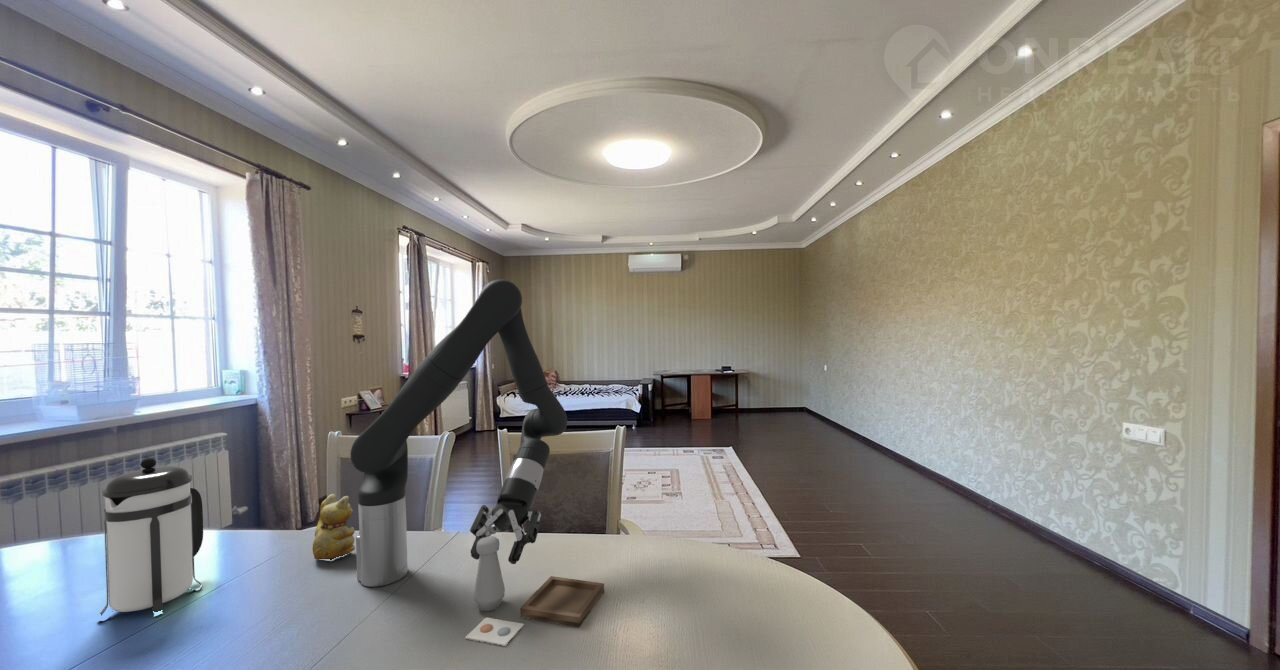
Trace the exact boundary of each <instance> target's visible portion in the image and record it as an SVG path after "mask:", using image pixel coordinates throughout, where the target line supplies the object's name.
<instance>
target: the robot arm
mask: <svg viewBox="0 0 1280 670" xmlns="http://www.w3.org/2000/svg"><path fill="white" fill-rule="evenodd" d="M522 303H523V297H522V293H521V290H520V289H519V287H518V286H517V285H516V284H515V283H513V282H511V281H509V280H507V279H503V278H502V279H501V278H499V279H494V280H491V281H489V282H488V283H486V284H485V285H484V286H483V288H482V289H481V290H480V293H479V295H478V296H477V298H476V300H475V301H474V303H473V305H472V306H471V307H470V309H469V311H468V312H467V313H466V315H465V316H464V318H463V319H461V321H460V322H459V324H457V325H456V327H454V329H453V330H451V331H450V332H448V334H447V335H446V336H444V338H442V339H441V340H440V341H439V342H438V343H437V344H436V345H435V346H434V347H433V349H432V350H430V351H429V353H428V354H427V355H426V357H424V358H423V360H422V361H421V362H420V364H419V365H418V366H417V367H416V369H415V370H414V371H413V372H412V373H411V375H410V377H409V378H408V379H407V380H406V381H405V383H404V384H403V386H402V387H401V389H400V390H399V391H398V392H397V394H396V395H395V397H394V398H393V399H392V401H391V403H390V404H389V405H388V406H387V407H386V409H384V410H383V412H381V414H380V415H379V416H378V417H377V418H376V419H375V420H374V421H373V422H372V423H371V424H370V425H369V426H368V427H367V428H366V429H365V430H364V431H362V432H361V433H360V434H359V435H358V437H356V438H355V440H354V441H353V443H352V445H351V449H350V460H351V464H352V465H353V467H354V468H355V470H357V471H358V472H361V473H363V477H362V482H361V484H360V487H359V488H358V491H357V492H358V493H357V503H358V504H357V505H358V506H357V507H358V533H359V534H358V535H357V536H356V537H355V550H356V551H355V552H356V580H357V581H360V583H361V585H362V586H363V587H364V586H365V587H371V588H373V587H380V586H386V585H390V584H393V583H394V582H397V581H399V580H401V579H402V578H403V577H405V576H406V575H407V574H408V570H409V569H408V568H409V566H408V543H407V542H408V538H407V535H408V534H407V533H408V532H407V507H406V505H407V503H406V502H407V501H406V486H407V481H408V478H409V477H408V473H409V471H408V470H409V469H408V468H409V467H408V466H409V465H408V464H409V461H408V460H409V457H408V456H409V455H408V450H409V448H408V438H409V437H410V435H411V434H412V433H413V432H414V430H415V429H416V428H417V427H418V426H419V425H420V424H421V423H422V422H423V421H424V420H425V419H426V418H427V417H428V416H429V415H431V414H432V413H433V412H434V411H435V410H436V409H437V408H439V406H441V405H442V404H443V402H445V401H446V400H447V398H448V397H450V395H451V394H452V393H453V392H454V391H455V390H456V388H457V387H458V386H459V385H460V384H461V382H462V381H463V380H464V378H465V377H466V375H468V373H469V372H470V370H471V369H472V367H473V366H474V365H475V363H476V362H477V360H478V358H479V356H480V355H481V354H482V352H483V351H484V349H485V348H486V346H487V345H488V344H489V343H490V341H491V340H492V339H493V338H494V337H495V336H496V335H497V334H499V337H500V339H501V342H502V345H503V348H504V351H505V354H506V358H507V361H508V366H509V368H510V372H511V374H512V377H513V378H512V379H513V381H514V385H515V386H516V389H517V391H518V394H519V396H520V398H521V401H522V402H524V403H525V404H529V405H533V406H536V407H537V408H534V409H531V410H529V411H528V412H527V414H526V415H525V416H524V419H523V420H522V427H521V437H520V445H519V449H518V450H517V452H516V454H515V458H514V461H513V463H512V464H511V466H510V467H509V469H508V472H507V474H506V476H505V479H504V481H503V484H502V486H501V489H500V491H499V494H498V496H497V502H496V505H495V506H494V507H488V506H487V505H485V504H483V505H481V506H480V507H479V511H478V513H477V515H476V517H475V519H474V521H473V523H472V525H471V527H470V529H469V531H470V533H471V534H472V535H473V536H475V540H474V541H473V543H472V547H471V548H470V557H471V558H473V559H474V560H479V557H480V554H478V553H477V549H476V547H477V542H478V541H479V540H480V539H482V538H484V537H489V536H493V535H495V534H496V533H498V531H499V532H508V533H514V534H515V539H516V540H515V541H514V542H513V545H512V547H511V550H510V553H509V555H508V558H507V559H508V562H509V563H510V564H511V565H516V564H517V562H519V561H520V559H521V556H522V553H523V550H524V549H525V546H526V544H534V543H536V540H537V536H538V533H539V529H540V527H541V522H542V520H543V515H542V514H541V512H540V511H539V510H538V509H534V510H532V511H531V509H532V508H533V505H534V501H535V499H536V497H537V493H538V491H539V488H540V486H541V482H542V480H543V479H542V478H543V474H544V470H545V468H546V465H547V462H548V459H549V456H550V452H551V451H550V446H549V444H548V443H547V442H545V441H544V440H542V438H544V437H545V438H546V437H555V436H560V435H562V434H563V433H564V432H565V431H566V429H567V426H568V416H567V413H566V410H565V409H564V407H563V406H562V404H561V402H560V401H559V400H558V398H557V396H556V395H555V394H554V393H553V391H552V389H551V388H550V387H549V384H548V382H547V378H546V376H545V373H544V371H543V368H542V364H541V363H540V359H539V358H538V355H537V352H536V350H535V349H534V347H533V344H532V342H531V339H530V337H529V333H528V331H527V328H526V325H525V322H524V318H523V313H522V308H521V307H522ZM526 521H529V523H528V526H527V530H526V532H525V529H524V524H525V522H526ZM493 525H494V526H493Z"/></svg>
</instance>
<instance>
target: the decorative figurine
mask: <svg viewBox="0 0 1280 670" xmlns="http://www.w3.org/2000/svg"><path fill="white" fill-rule="evenodd" d="M349 502H350V497H349V495H345V496H342V498H340V499H339V500H337V496H336V494H335V493H330V494H329V495H328V496H327V497H326V498H325V499H324V500H322V502H321V504H320V508H319V509H320V511H319V514H320V515H319V520H318V521H317V525H316V527H315V531H314V539H313V542H312V554H313V557H314V558H313V559H315V560H316V561H320V560H319V559H330V560H332V559H334V558H336V557H339V556H343V555H345V554H348V553H350V554H351V552H353V551H355V550H356V545H354V544H355V541H356V538H355V537H354V534H355V531H356V529H355V528H354V527H353V526H349V525H348V524H347V522H348V521H349V520H350V519H351V517H352V516H353V508H352V507H351V504H350V503H349Z"/></svg>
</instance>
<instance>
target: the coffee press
mask: <svg viewBox="0 0 1280 670" xmlns="http://www.w3.org/2000/svg"><path fill="white" fill-rule="evenodd" d="M156 463H157V460H156V459H155V458H154V457H145V458H144V459H143V460H142V461H141V462H140V464H139V465H140V467H141V468H143V469H137V470H134V471H130V472H127V473H122V474H120V475H118V476H115V477H114V478H112V479H111V480H110V481H109V482H108V483H107V484H106V486H105V488H104V489H102V491H101V496H102V498H104V502H105V508H104V510H103V527H104V553H105V555H104V557H105V559H104V560H105V584H106V585H105V587H106V588H105V589H106V591H105V592H106V604H105V606H104V607H103V608H102V610H101V611H100V612H99V614H101V616H102V615H104V613H105V612H106V611H107V609H108V606H109V607H110V609H112V610H113V611H114V610H115V611H118V612H123V613H125V612H126V613H128V612H137V611H142V610H146V609H150V608H151V607H152V608H153V611H154V612H158V611H161V610H163V611H164V605H163V604H164V603H168V602H170V601H172V600H174V599H176V598H178V597H180V596H181V595H182V594H184V593H185V592H187V591H188V590H189V588H191V586H192V584H193V580H194V581H195V582H196V583H198V584H199V586H200V585H201V584H202V582H201V581H199V580H197V579H196V576H195V556H197V554H198V553H199V551H200V549H201V547H202V544H203V540H204V514H203V513H204V512H203V499H202V495H201V493H200V492H199V491H198V489H196V488H193V487H192V488H191V483H192V480H193V475H191V474H190V473H189V471H188V470H187V469H186V468H183V467H180V466H175V465H173V466H172V465H171V466H156V467H155V465H156ZM152 608H151V609H152Z"/></svg>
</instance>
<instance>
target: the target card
mask: <svg viewBox="0 0 1280 670" xmlns="http://www.w3.org/2000/svg"><path fill="white" fill-rule="evenodd" d="M523 625H524V626H525V624H524V623H521V622H515V621H510V620H504V619H503V620H502V619H497V618H493V617H485V618H484V619H483V620H482V621H481V622H480V623H478V624H477V626H475V627H474V628H473V629H472V630H471V631H470V632H469V633H468V634H467V635H466V636H465V638H464V639H465V640H468V639H469V641H474V642H479V641H480V643H484V642H486V643H485V644H489V643H491V644H490V645H494V644H497V645H496V646H499V645H502V646H501V647H506V646H507V645H508V644H509V643H510V642H511V641H512V640H513V639H514V638H515V636H517V634H518V633H519V632H520V631H521V630H522V629H523V628H524V626H523ZM520 629H521V630H520ZM519 630H520V631H519ZM518 631H519V632H518ZM512 638H513V639H512ZM511 639H512V640H511ZM510 640H511V641H510ZM509 641H510V642H509ZM508 642H509V643H508Z"/></svg>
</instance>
